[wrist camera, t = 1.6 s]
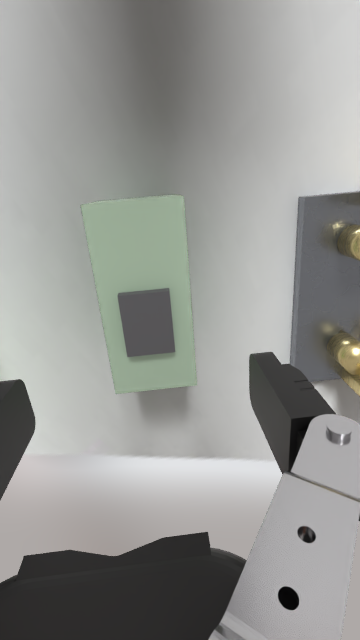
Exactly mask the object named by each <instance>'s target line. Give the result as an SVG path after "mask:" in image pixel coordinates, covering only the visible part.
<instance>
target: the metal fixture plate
mask: <svg viewBox="0 0 360 640" xmlns="http://www.w3.org/2000/svg"><path fill="white" fill-rule="evenodd" d="M290 365H292V366H293V367H295V368H297V369H299V370H300V371H301V372H302V373H303V374H304V375H305V376H306V378H307V379H308V382H314V381H323V380H331V379H340V378H342V379H343V380H344V381H345V382H346V383H347V384H348V385H349V386H350V387H351V388H352V389H353V390H354V391H355V392H356V393H357V394H358V395H359V396H360V191H356V192H345V193H335V194H324V195H314V196H303V197H299V205H298V224H297V243H296V262H295V281H294V300H293V319H292V338H291V357H290Z"/></svg>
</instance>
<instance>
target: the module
mask: <svg viewBox="0 0 360 640" xmlns="http://www.w3.org/2000/svg"><path fill="white" fill-rule="evenodd" d="M81 211H82V216H83V222H84V227H85V232H86V238H87V243H88V248H89V254H90V259H91V264H92V270H93V275H94V280H95V286H96V291H97V297H98V302H99V307H100V313H101V318H102V323H103V329H104V334H105V339H106V345H107V350H108V355H109V361H110V366H111V372H112V377H113V382H114V388H115V393H116V394H122V393H131V392H140V391H149V390H158V389H168V388H177V387H186V386H195V385H197V377H196V363H195V349H194V335H193V320H192V306H191V292H190V278H189V263H188V249H187V235H186V221H185V206H184V196H181V195H177V194H173V195H161V196H150V197H138V198H127V199H115V200H104V201H97V202H93V203H88V204H83V205H81Z"/></svg>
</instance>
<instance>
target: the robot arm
mask: <svg viewBox="0 0 360 640" xmlns="http://www.w3.org/2000/svg"><path fill="white" fill-rule="evenodd" d="M249 390H250V400H251V404H252V408H253V410H254V412H255V415H256V417H257V419H258V421H259V423H260V426H261V428H262V430H263V432H264V434H265V437H266V439H267V441H268V443H269V446H270V448H271V450H272V452H273V454H274V457H275V459H276V461H277V463H278V465H279V468H280V470H281V472H282V474H283V475H282V477H281V480H280V482H279V485H278V487H277V490H276V492H275V494H274V497H273V499H272V501H271V504H270V506H269V509H268V511H267V513H266V516H265V518H264V521H263V523H262V526H261V528H260V530H259V533H258V535H257V537H256V540H255V542H254V545H253V547H252V549H251V552H250V554H249V557H248V559H247V560H245V559H243V558H241V557H239V556H237V555H235V554H233V553H230V552H227V551H224V550H220V549H215V548H210V543H209V536H208V532H204V533H196V534H188V535H180V536H173V537H165V538H161V539H159V540H156V541H154V542H152V543H149V544H147V545H144V546H142V547H139V548H137V549H134V550H132V551H129V552H127V553H124V554H122V555H119V556H106V555H100V554H93V553H86V552H80V551H73V550H65V551H58V552H50V553H43V554H35V555H27V556H24V558H23V561H22V564H21V566H20V569H19V572H18V575H15V576H13V577H11V578H9V579H7V580H5V581H3V582H1V583H0V640H341V637H342V630H343V623H344V617H345V610H346V603H347V596H348V590H349V583H350V576H351V569H352V562H353V555H354V549H355V542H356V535H357V528H358V521H360V424H359V423H358V422H356V421H354V420H353V419H350V418H348V417H345V416H341V415H336V413H335V412H334V411H333V410H332V408H331V407H330V406H329V405H328V404H327V402H326V401H325V400H324V399H323V397H322V396H321V395H320V394H319V392H318V391H317V390H316V389H314V386H313V385H312V384H311V383H310V382H308V379H307V378H306V376H305V375H304V374H303V373H302V372H301V371H300V370H299V369H297V368H295V367H293V366H292V365H290V364H283V365H281V363H280V362H279V360H278V359H277V358H276V356H275V355H274V354H273V352H265V353H256V354H251V355H250V359H249ZM34 430H35V416H34V412H33V409H32V406H31V403H30V399H29V396H28V393H27V390H26V387H25V384H24V382H23V381H22V380H20V379H18V380H9V381H0V500H1V498H2V496H3V494H4V492H5V490H6V488H7V486H8V484H9V482H10V480H11V478H12V476H13V474H14V472H15V470H16V468H17V466H18V463H19V462H20V460H21V458H22V456H23V454H24V452H25V450H26V448H27V446H28V444H29V442H30V440H31V438H32V436H33V434H34Z"/></svg>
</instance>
